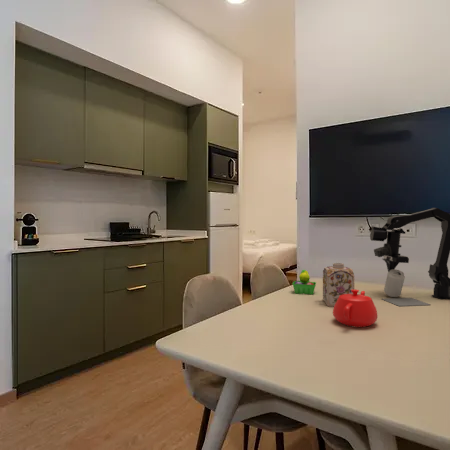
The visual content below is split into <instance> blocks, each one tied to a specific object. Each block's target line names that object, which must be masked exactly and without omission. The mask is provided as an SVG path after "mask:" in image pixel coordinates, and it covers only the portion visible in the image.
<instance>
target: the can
mask: <svg viewBox="0 0 450 450" xmlns="http://www.w3.org/2000/svg"><path fill="white" fill-rule="evenodd" d="M405 279H406V277H405V273H404V272H403V271H401V270H399V269H396V268H395V269H392V270H390V272H388V271H387V274H386V279H385V284H384V287H383V292H384V293H385V295H387V296H388V297H390V298H399V297H400V296H401V295H402V290H403V287H404V282H405Z"/></svg>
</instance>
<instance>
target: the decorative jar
mask: <svg viewBox="0 0 450 450" xmlns="http://www.w3.org/2000/svg"><path fill="white" fill-rule="evenodd" d="M352 289H355V273H354V270H353V269H352V268H351V267H348V266H345V264H344V263H343V262H333V263H332V265H331V266H330V265H329V266H325V267H324V268H323V270H322V300H323V302H324V303H325V304H326V306H327V307H334V306H335V303H336V302H337V299H338V298H339V296H340V295H343V294H353V293H352V291H351V290H352Z"/></svg>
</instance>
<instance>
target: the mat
mask: <svg viewBox="0 0 450 450" xmlns="http://www.w3.org/2000/svg"><path fill="white" fill-rule="evenodd" d="M381 300H382V301H384V302H387V303H390V304H391V305H394V306H397V307H416V306H417V307H421V306H431V305H432V304H430V303H427V302H424V301H422V300H418V299H417V298H414V297H390V298H389V297H388V298H381Z"/></svg>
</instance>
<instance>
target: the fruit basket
mask: <svg viewBox="0 0 450 450" xmlns="http://www.w3.org/2000/svg"><path fill="white" fill-rule="evenodd" d="M298 277H299V280H295V281H293V282H292V286H293V290H294V294H301V295H303V294H304V295H314V292H315V287H316V285H317V282H316V281H310V278H311V277H310V274H309V272H308V270H307V269H302V270H301V272H300V274H299V276H298Z"/></svg>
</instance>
